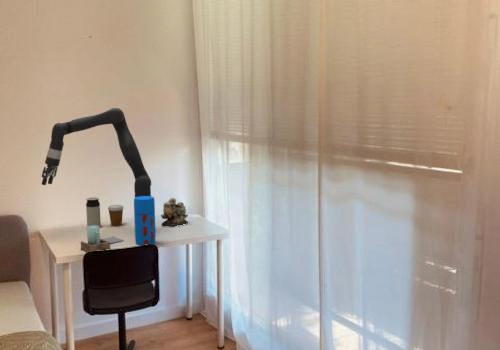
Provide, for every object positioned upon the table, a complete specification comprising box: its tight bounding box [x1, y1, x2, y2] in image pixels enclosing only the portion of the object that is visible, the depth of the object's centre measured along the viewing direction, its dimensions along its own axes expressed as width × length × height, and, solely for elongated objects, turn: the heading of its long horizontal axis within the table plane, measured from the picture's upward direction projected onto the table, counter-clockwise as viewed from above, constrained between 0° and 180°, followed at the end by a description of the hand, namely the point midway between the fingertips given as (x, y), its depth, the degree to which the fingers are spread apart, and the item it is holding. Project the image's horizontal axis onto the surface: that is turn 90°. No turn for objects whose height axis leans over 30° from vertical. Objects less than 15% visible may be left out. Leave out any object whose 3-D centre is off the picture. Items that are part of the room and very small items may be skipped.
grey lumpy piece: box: [160, 197, 189, 227], centre depth 302 cm, size 18×12×17 cm, turn 127°
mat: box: [102, 236, 125, 245], centre depth 265 cm, size 11×11×1 cm
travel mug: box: [85, 196, 102, 228], centre depth 296 cm, size 8×8×18 cm
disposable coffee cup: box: [107, 204, 124, 227], centre depth 301 cm, size 10×10×12 cm
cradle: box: [80, 238, 111, 253], centre depth 250 cm, size 10×11×4 cm
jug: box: [86, 225, 101, 245], centre depth 250 cm, size 6×8×12 cm
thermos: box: [133, 195, 157, 246], centre depth 260 cm, size 11×11×25 cm
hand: (46, 184), depth 275 cm, fingers open, 8 cm apart
